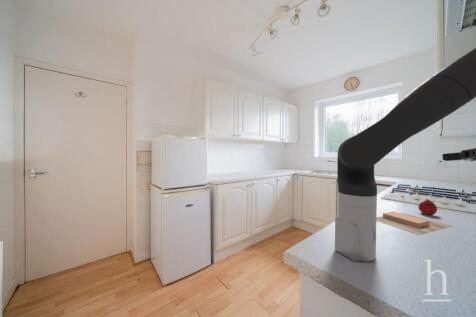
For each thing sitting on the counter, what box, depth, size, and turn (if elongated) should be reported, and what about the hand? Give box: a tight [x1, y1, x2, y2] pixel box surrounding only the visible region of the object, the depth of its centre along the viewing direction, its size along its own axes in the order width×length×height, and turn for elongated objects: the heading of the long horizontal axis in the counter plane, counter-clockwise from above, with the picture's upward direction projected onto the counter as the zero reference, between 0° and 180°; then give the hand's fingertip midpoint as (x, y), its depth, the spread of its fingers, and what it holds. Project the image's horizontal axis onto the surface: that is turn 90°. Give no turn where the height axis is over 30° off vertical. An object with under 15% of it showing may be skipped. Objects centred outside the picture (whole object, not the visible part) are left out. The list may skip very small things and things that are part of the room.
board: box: [376, 212, 453, 236], centre depth 72 cm, size 22×16×1 cm
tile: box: [382, 211, 429, 228], centre depth 73 cm, size 7×2×12 cm
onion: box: [418, 198, 438, 216], centre depth 81 cm, size 6×6×8 cm
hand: (443, 157), depth 57 cm, fingers closed
